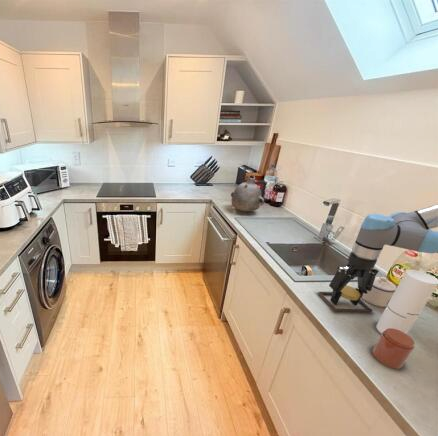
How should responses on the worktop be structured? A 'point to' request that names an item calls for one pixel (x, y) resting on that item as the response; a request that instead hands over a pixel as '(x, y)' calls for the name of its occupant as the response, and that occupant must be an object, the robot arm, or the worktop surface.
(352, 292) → the jar lid
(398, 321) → the cylindrical container
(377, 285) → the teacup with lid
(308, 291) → the worktop surface
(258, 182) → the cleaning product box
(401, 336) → the jar
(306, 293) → the worktop surface
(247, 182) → the jug
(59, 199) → the worktop surface
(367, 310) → the dark rectangular frame
